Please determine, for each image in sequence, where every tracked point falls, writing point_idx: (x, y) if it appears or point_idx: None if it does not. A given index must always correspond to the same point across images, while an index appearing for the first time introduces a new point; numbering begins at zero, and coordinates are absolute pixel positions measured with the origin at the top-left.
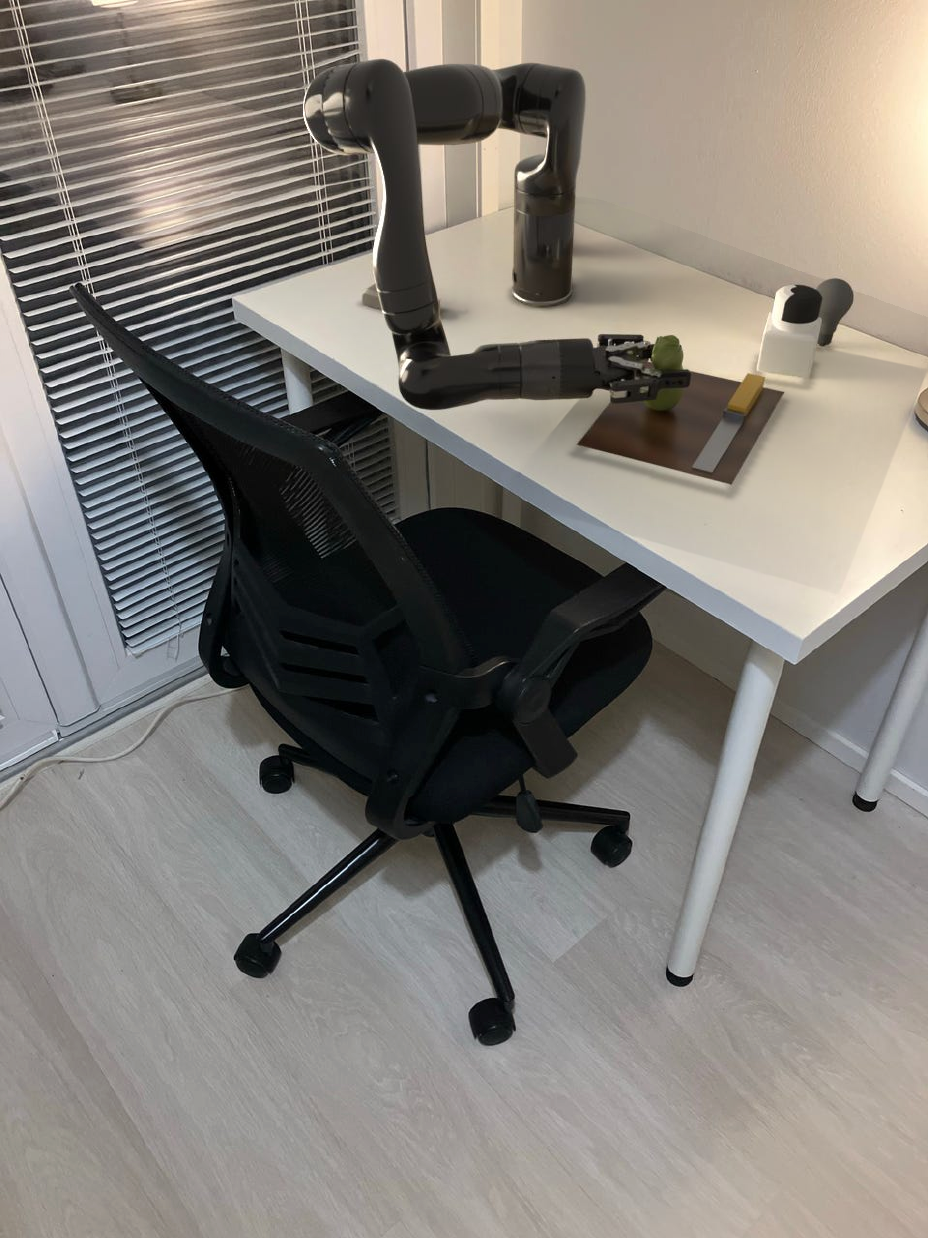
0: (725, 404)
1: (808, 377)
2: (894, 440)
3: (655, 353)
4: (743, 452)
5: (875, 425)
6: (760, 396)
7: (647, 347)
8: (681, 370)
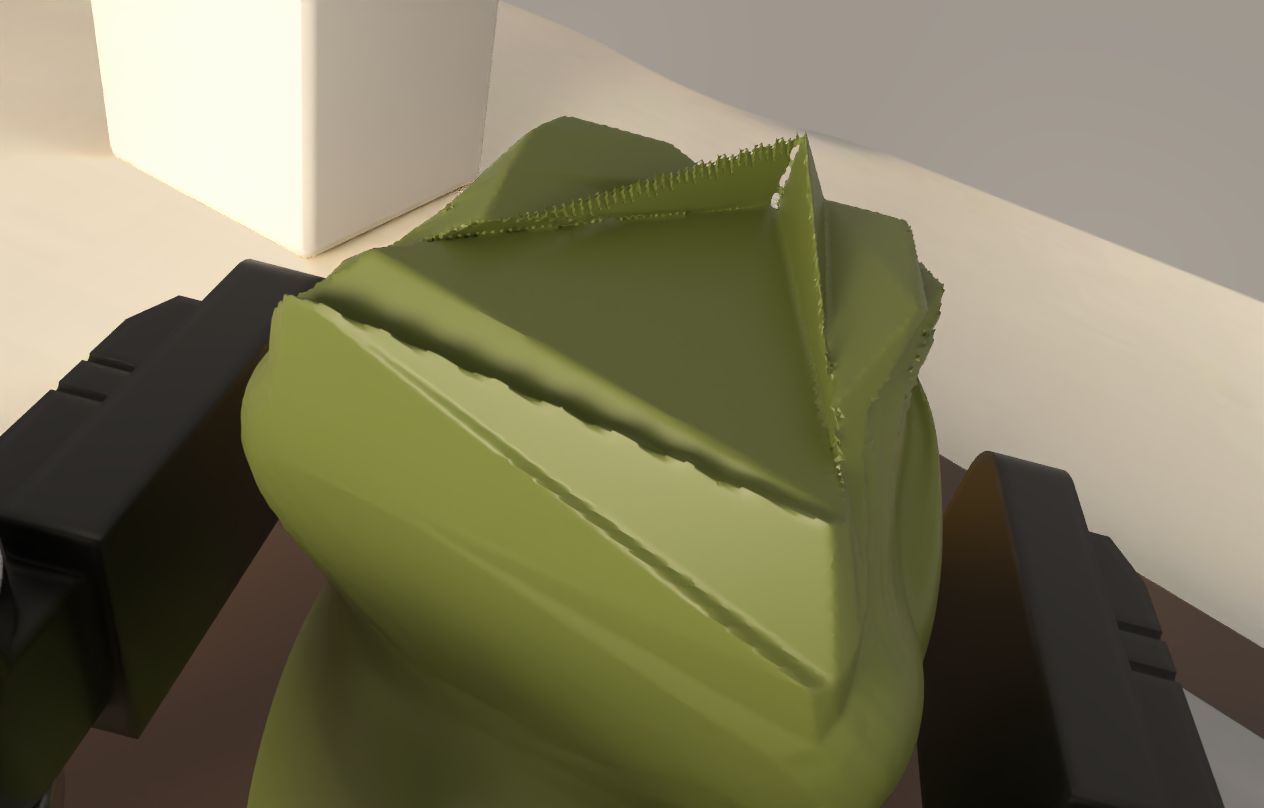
0: None
1: (482, 135)
2: (910, 195)
3: (872, 656)
4: (1218, 643)
5: None
6: None
7: (10, 633)
8: (1035, 526)
